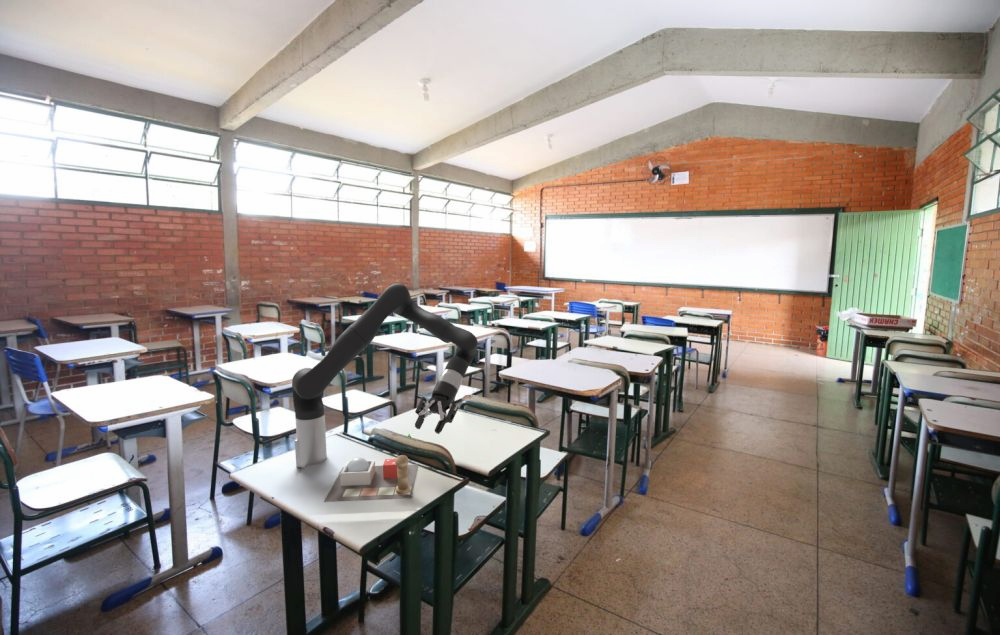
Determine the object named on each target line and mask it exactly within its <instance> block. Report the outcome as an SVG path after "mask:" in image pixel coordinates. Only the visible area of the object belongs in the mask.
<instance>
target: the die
mask: <svg viewBox="0 0 1000 635" xmlns="http://www.w3.org/2000/svg"><path fill="white" fill-rule="evenodd" d="M396 459H397V458H385V459H384V461H383V464H382V466H383V479H384V478H398V476H397V465H396Z"/></svg>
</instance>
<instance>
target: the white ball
mask: <svg viewBox="0 0 1000 635" xmlns="http://www.w3.org/2000/svg"><path fill="white" fill-rule="evenodd" d="M367 460H368V459H366V458H364V457H361V456H357V457H353V459H351V460H349V461H350V463H349V465H348V472H363V471H368V469H369V464H368V462H367Z"/></svg>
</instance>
